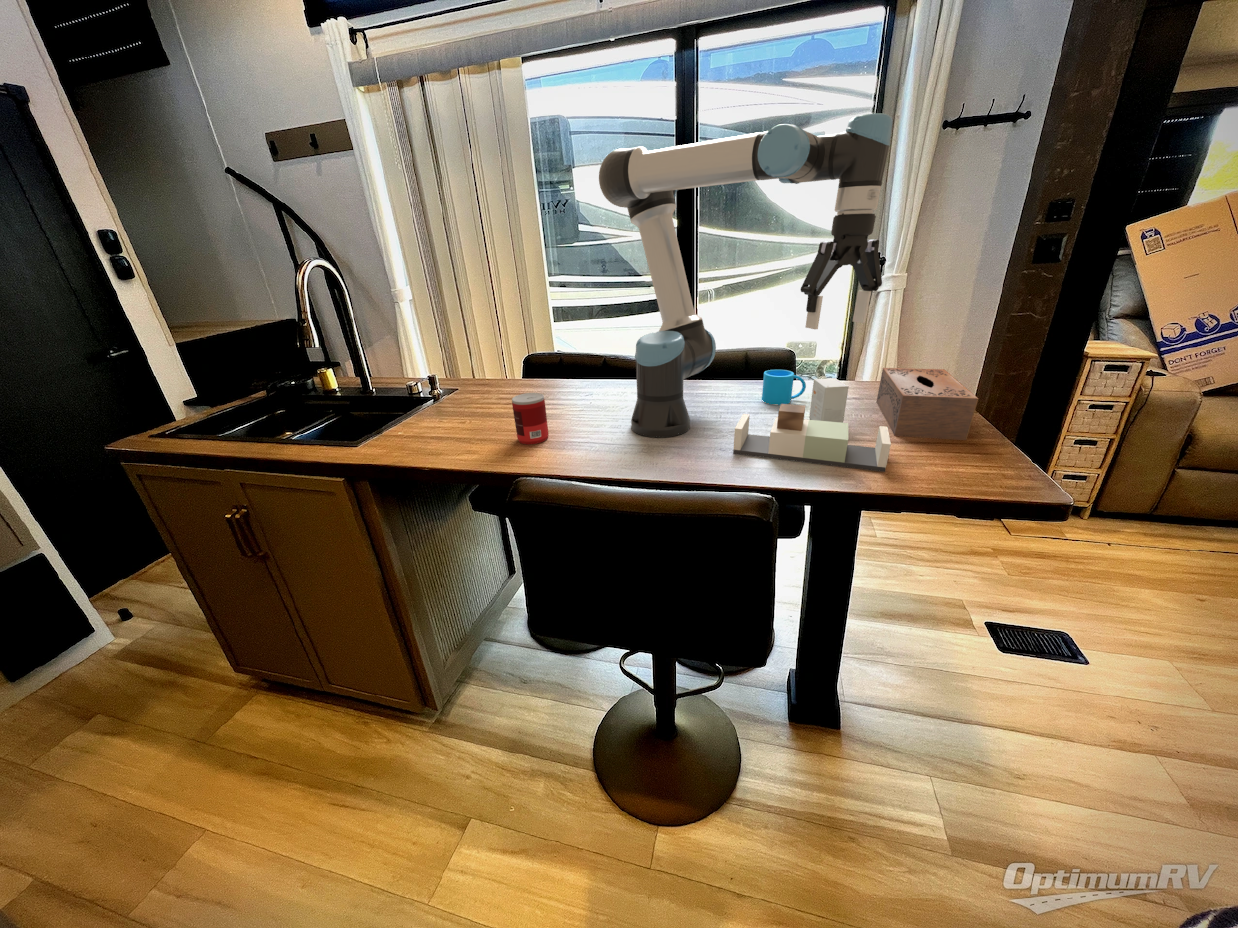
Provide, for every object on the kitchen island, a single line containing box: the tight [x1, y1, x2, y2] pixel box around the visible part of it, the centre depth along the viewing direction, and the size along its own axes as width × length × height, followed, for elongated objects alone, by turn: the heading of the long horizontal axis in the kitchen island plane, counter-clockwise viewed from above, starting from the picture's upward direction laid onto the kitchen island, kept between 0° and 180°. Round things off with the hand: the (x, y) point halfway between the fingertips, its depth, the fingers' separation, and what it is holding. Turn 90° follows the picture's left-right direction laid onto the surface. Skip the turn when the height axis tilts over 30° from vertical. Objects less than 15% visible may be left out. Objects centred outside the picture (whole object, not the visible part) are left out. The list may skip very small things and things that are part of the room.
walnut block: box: [777, 403, 806, 431], centre depth 101 cm, size 5×5×4 cm
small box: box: [808, 377, 850, 423], centre depth 117 cm, size 8×6×10 cm
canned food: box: [511, 392, 549, 446], centre depth 116 cm, size 8×8×11 cm
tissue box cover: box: [875, 367, 979, 441], centre depth 117 cm, size 26×14×10 cm, turn 162°
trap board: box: [733, 413, 892, 473], centre depth 102 cm, size 30×10×6 cm, turn 66°
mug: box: [761, 369, 807, 406], centre depth 135 cm, size 12×8×8 cm
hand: (835, 325), depth 101 cm, fingers open, 13 cm apart
